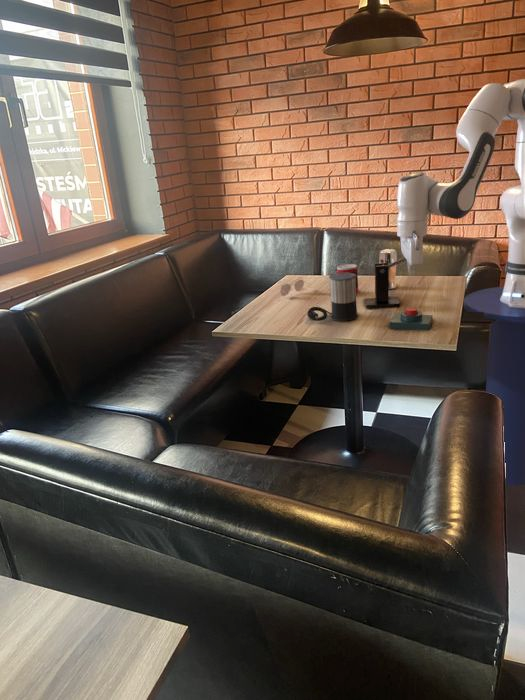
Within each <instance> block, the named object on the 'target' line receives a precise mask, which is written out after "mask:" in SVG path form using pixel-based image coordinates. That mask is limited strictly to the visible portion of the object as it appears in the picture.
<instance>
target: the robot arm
mask: <svg viewBox="0 0 525 700" xmlns="http://www.w3.org/2000/svg"><path fill="white" fill-rule="evenodd" d="M503 121H516V122H517V132H516V139H515V141H516V142H515V154H514V169H515V171H516V173H517V175H518V177H519V182H520V184H518V185H514V186H511V187H508V188H506V189H505V191H503V193H502V194H501V196H500V199H499V207H500V210H501V211H502V212H503V215H504V218H505V222H506V227H507V234H508V249H507V250H508V252H507V260H506V262H505V263H506V264H505V271H504V273H505V281H504V285H503V287H504V289H503V293H502V295H501V298H500V301H501V302H503V303H505V304H507V305H508V306H509V307H513V308H525V78H519V79H516V80H514V81H510V82H507V83H498V82H491V83H488V84H485V85H484V86H483V87H482V88H481V89H480V90H479V91H478V92H477V93H476V95H475V96H474V97H473V99H472V100H471V101H470V103H469V105H468V106H467V108H466V109H465V111H464V113H463V115H462V116H461V117H460V120H459V121H458V123H457V127H456V130H455V135H456V139H457V141H458V143H459V144H460V146H461V147H462V148H463V149H465V150H466V151H467V152H469V154H468V157H467V160H466V161H465V164H464V166H463V168H462V171H461V173H460V175H459V177H458V178H457V179H455V180H453V181H452V182H445V181H444V182H443V181H438V180H435V179H434V178H432V177H429V176H428V175H427V174H426V173H425V172H421V171H417V172H413V173H408V174H406V175H403V176H402V177H401V178H400V180H399V181H398V186H397V199H396V204H397V205H396V207H397V210H398V213H397V218H396V236H397V237H398V238H400V239H399V240H400V249H401V254H402V255H403V258H404V257H405V258H406V262H407V273H408V274H409V276H415V275H416V268H417V267H419V266H423V265H424V264H423V263H424V249H423V248H424V243H423V239H424V238H423V237H425V236H427V235H428V220H429V219H428V216H429V215H433V216H440V217H446V218H450V219H454V220H460V219H463V218H464V217H466V216H467V215H468V214H469V213H470V212H471V211H472V210H473V207H474V205H475V201H476V197H477V193H478V190H479V187H480V186H481V185H480V184H481V183H482V180H483V178H484V175H485V173H486V170H487V168H488V166H489V164H490V161H491V159H492V156H493V154H494V151H495V148H496V140H495V136H496V134H497V131H498V130H499V128H500V126H501V124H502V123H503Z"/></svg>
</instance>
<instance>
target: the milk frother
mask: <svg viewBox="0 0 525 700" xmlns="http://www.w3.org/2000/svg"><path fill="white" fill-rule="evenodd" d="M355 277H356V274H353V273H333V274H331V275H329V276H328V279H329V288H330V301H331V302H330V303H331V312H329V311H328V310H326V309H325V308H323V307H320V306H312V307H310V308H309V309H308V310H307V313H306V316H307V318H308V319H309V320H312V321H314V322H315V321H316V322H318V321H324V320H325V319H327V317H328V314H329V315H331V317H330V318H331V319H332V320H335V321H341V322H345V321H353V320H355V319H356V318H358V316H359V315H358V309H357V294H356V279H355ZM316 311H317V312H321V313H322V314H323V315H322V316H320V317H319V313H317V312H316Z"/></svg>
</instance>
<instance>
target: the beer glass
mask: <svg viewBox="0 0 525 700" xmlns="http://www.w3.org/2000/svg"><path fill="white" fill-rule="evenodd" d="M378 253H379V255H378V263H387V265H389V264H391V263H393V262H395V261H397V260H398V257H397V256H398V254H397V249H394V248H388V249H387V248H386V249H381V250H379V252H378ZM397 266H398V264H397V265H395V266H392V267H390V268H388V271H389V290H394V289H396V288H397V282H396V275H397Z"/></svg>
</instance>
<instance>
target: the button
mask: <svg viewBox="0 0 525 700" xmlns="http://www.w3.org/2000/svg"><path fill="white" fill-rule="evenodd" d="M405 311H406V315H417V311H418V308H417V307H406V308H405Z"/></svg>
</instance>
